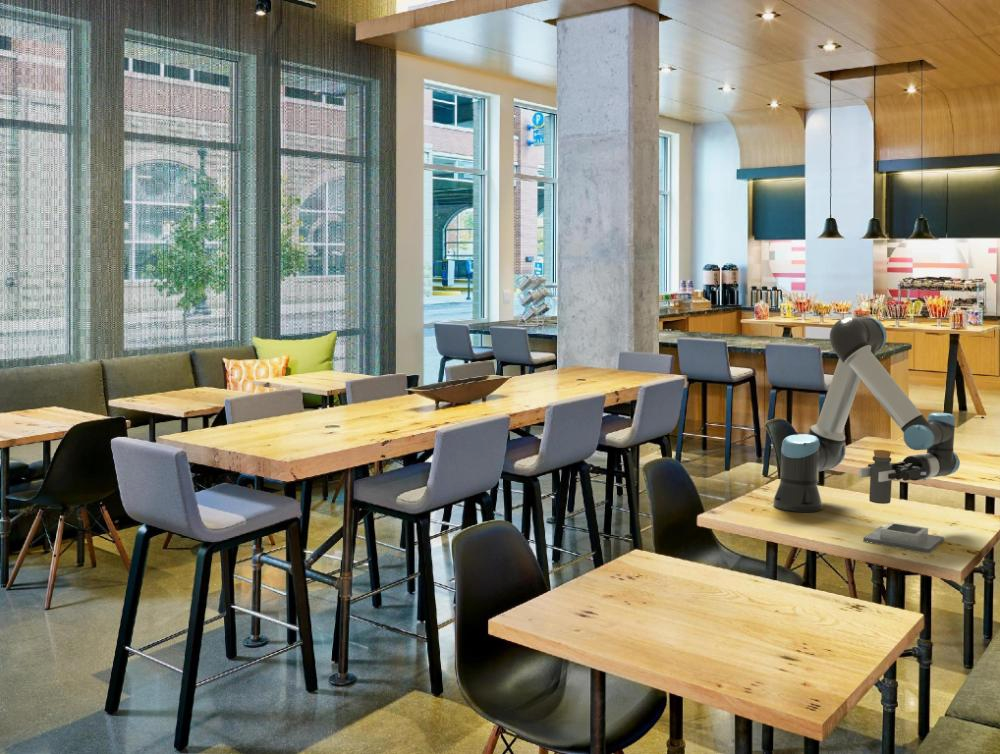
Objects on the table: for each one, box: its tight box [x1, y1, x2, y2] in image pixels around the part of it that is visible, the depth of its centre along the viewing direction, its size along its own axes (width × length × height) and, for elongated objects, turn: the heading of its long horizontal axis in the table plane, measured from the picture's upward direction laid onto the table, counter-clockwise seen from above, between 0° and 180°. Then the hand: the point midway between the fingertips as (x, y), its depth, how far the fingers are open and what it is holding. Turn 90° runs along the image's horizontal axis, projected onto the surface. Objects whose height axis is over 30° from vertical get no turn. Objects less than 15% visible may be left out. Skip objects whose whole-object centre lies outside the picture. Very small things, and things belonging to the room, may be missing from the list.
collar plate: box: [862, 521, 945, 554], centre depth 284 cm, size 18×16×4 cm
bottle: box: [868, 449, 893, 505], centre depth 287 cm, size 6×6×15 cm
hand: (870, 475), depth 284 cm, fingers closed on bottle, 6 cm apart
